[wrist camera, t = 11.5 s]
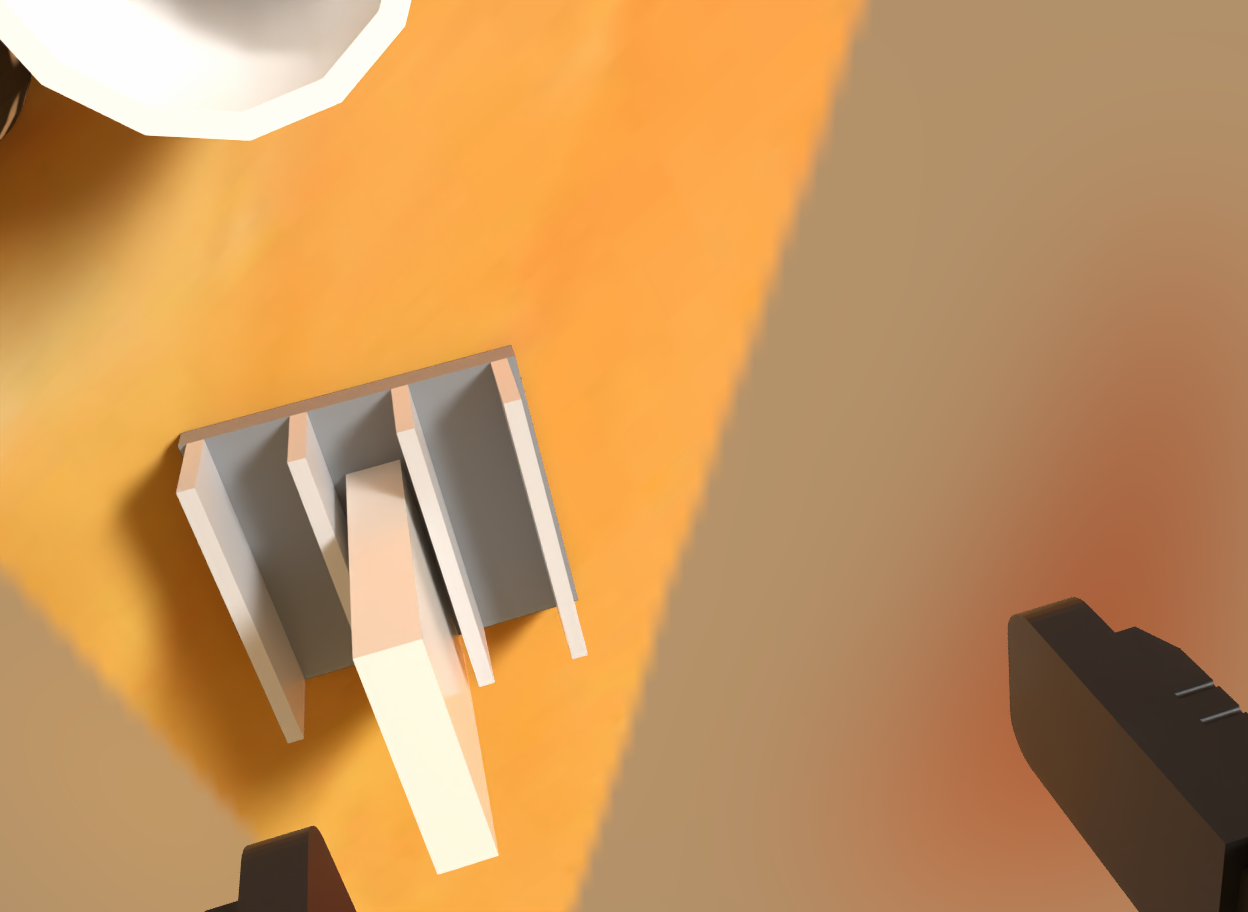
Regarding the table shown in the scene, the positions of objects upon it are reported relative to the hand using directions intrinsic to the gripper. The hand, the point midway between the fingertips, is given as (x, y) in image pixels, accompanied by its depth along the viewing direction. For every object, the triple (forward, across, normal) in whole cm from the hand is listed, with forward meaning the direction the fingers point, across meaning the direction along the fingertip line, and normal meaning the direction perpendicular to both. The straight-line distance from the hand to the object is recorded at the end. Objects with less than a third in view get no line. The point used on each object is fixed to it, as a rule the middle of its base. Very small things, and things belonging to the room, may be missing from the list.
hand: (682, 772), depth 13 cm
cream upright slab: (+29, +6, +15) cm, 33 cm away
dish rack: (+30, +6, +13) cm, 33 cm away
